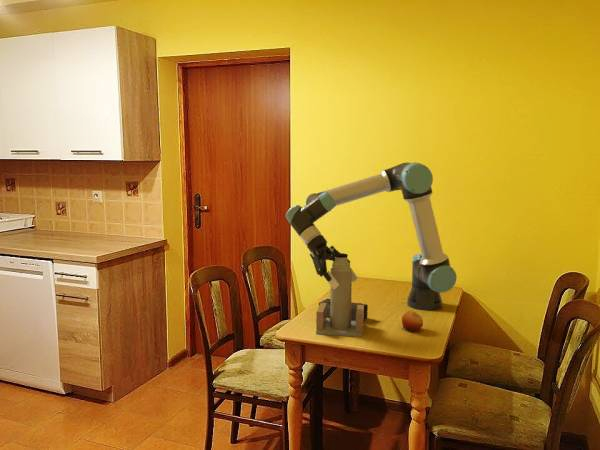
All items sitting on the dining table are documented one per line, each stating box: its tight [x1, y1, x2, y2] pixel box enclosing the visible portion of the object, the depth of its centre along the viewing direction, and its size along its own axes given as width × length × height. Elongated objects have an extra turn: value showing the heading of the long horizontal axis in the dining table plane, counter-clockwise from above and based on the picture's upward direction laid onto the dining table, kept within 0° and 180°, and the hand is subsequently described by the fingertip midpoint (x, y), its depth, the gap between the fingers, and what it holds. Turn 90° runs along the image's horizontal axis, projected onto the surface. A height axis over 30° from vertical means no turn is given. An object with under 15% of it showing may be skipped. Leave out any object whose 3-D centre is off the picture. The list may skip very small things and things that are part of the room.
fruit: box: [401, 310, 424, 333], centre depth 197 cm, size 8×8×8 cm
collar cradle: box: [315, 303, 365, 338], centre depth 197 cm, size 17×14×8 cm
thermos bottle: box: [329, 252, 353, 329], centre depth 195 cm, size 8×8×28 cm
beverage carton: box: [318, 298, 369, 321], centre depth 211 cm, size 8×19×7 cm, turn 59°
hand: (346, 283), depth 193 cm, fingers open, 13 cm apart
